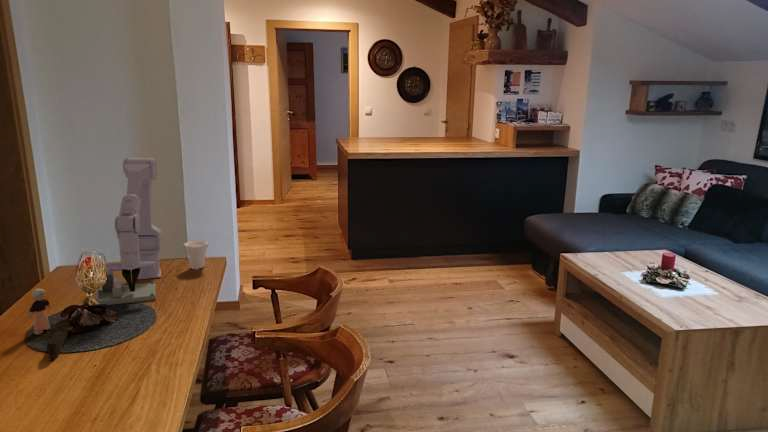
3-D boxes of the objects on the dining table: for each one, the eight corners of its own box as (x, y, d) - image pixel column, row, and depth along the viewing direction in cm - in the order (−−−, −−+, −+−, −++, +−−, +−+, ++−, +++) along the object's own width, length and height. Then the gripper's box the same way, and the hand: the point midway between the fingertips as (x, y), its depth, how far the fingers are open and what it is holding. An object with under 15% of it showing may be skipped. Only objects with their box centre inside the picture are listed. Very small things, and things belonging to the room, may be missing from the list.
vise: (91, 292, 186) (90, 279, 185) (155, 286, 194) (154, 273, 193) (87, 306, 175) (86, 292, 174) (155, 299, 182) (155, 285, 181)
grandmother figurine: (41, 336, 154) (36, 293, 151) (27, 335, 154) (22, 293, 151) (57, 324, 162) (53, 283, 159) (44, 324, 162) (39, 283, 159)
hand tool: (57, 332, 157) (55, 317, 156) (73, 331, 159) (71, 316, 158) (39, 364, 140) (37, 347, 139) (57, 362, 141) (55, 346, 140)
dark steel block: (103, 288, 186) (101, 271, 185) (114, 287, 188) (113, 270, 186) (102, 292, 183) (100, 275, 181) (114, 291, 184) (112, 274, 183)
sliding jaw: (114, 286, 187) (114, 278, 187) (122, 285, 188) (122, 277, 188) (113, 297, 178) (112, 288, 178) (121, 296, 179) (120, 287, 179)
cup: (184, 264, 217) (183, 240, 215) (209, 263, 220) (208, 239, 218) (183, 272, 209) (182, 246, 207) (209, 270, 212) (208, 245, 209)
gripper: (103, 256, 173) (107, 297, 176) (153, 252, 178) (156, 292, 181) (105, 250, 179) (108, 289, 182) (153, 246, 185) (156, 285, 188)
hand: (132, 290), depth 182 cm, fingers closed
